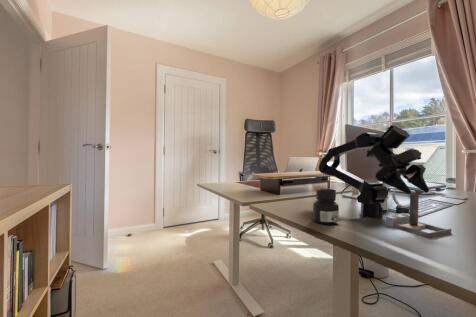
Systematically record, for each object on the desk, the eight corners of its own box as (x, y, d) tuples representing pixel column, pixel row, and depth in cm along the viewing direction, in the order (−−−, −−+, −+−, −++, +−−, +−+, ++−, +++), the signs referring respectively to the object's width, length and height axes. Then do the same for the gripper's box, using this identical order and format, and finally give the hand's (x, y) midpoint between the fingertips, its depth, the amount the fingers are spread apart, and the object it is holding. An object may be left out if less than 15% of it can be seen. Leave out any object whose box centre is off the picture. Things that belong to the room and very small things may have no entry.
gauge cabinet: (385, 227, 78) (385, 215, 78) (406, 224, 82) (406, 212, 82) (392, 230, 75) (393, 216, 75) (414, 226, 80) (414, 213, 79)
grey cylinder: (401, 227, 75) (402, 193, 74) (415, 225, 77) (416, 192, 77) (410, 230, 72) (411, 195, 72) (425, 228, 75) (426, 193, 74)
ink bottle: (324, 227, 78) (325, 192, 78) (307, 220, 87) (307, 188, 86) (344, 223, 82) (345, 190, 82) (326, 217, 91) (326, 187, 90)
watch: (414, 217, 91) (415, 190, 91) (390, 213, 97) (391, 187, 96) (416, 214, 95) (416, 188, 95) (393, 210, 101) (393, 186, 101)
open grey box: (385, 227, 78) (385, 220, 78) (406, 224, 82) (406, 217, 82) (429, 242, 66) (429, 233, 66) (451, 236, 70) (451, 228, 70)
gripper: (384, 140, 74) (421, 177, 64) (420, 142, 81) (458, 175, 71) (362, 163, 82) (392, 200, 72) (397, 163, 88) (429, 196, 78)
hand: (419, 192), depth 73 cm, fingers open, 9 cm apart
